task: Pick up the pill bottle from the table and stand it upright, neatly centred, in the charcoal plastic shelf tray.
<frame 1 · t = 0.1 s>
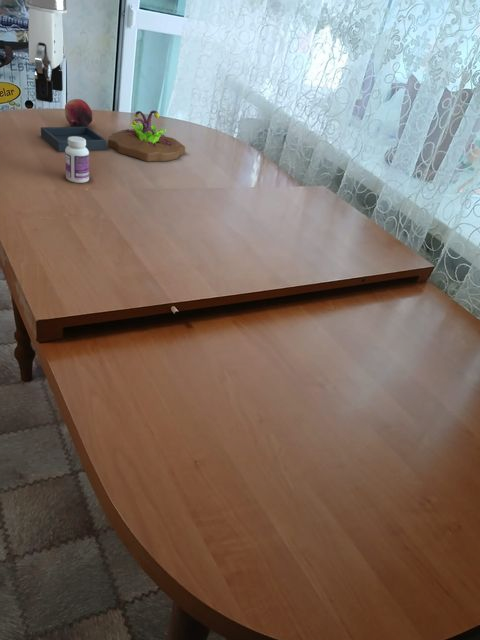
hand: (49, 95, 114), 20 cm above the table, tool pointing down, fingers open, 9 cm apart
fruit: (79, 129, 162), on the table
pill bottle: (77, 180, 132), on the table
shelf tray: (74, 143, 151), on the table
plant: (147, 150, 159), on the table
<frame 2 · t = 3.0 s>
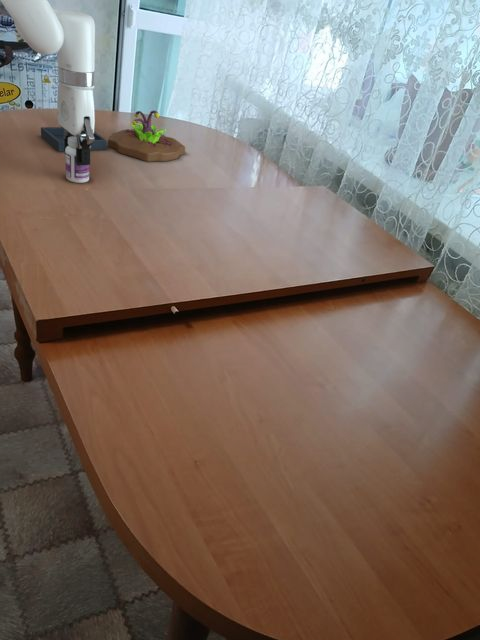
hand: (77, 159, 129), 5 cm above the table, tool pointing down, fingers closed on pill bottle, 5 cm apart
pill bottle: (77, 180, 132), on the table, touching gripper
everything else where it was.
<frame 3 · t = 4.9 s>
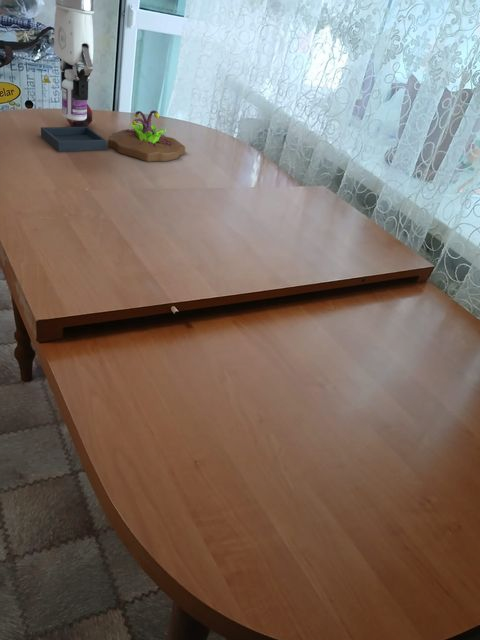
hand: (74, 94, 121), 19 cm above the table, tool pointing down, fingers closed on pill bottle, 5 cm apart
pill bottle: (74, 118, 124), point 14 cm above the table, touching gripper
everything else where it was.
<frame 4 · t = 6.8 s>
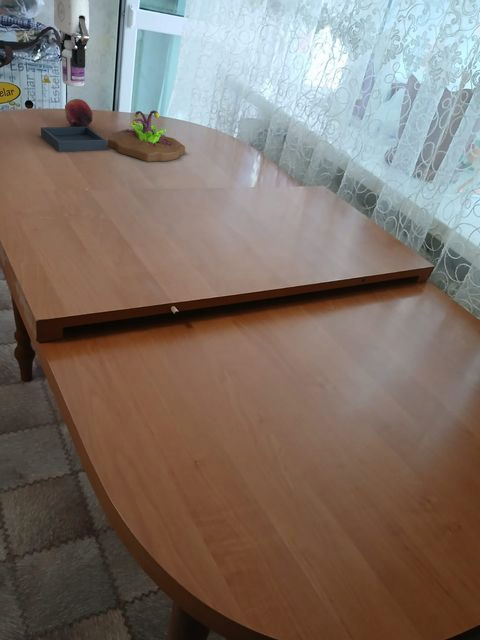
hand: (73, 63, 136), 21 cm above the table, tool pointing down, fingers closed on pill bottle, 5 cm apart
pill bottle: (73, 85, 139), point 16 cm above the table, touching gripper
everything else where it was.
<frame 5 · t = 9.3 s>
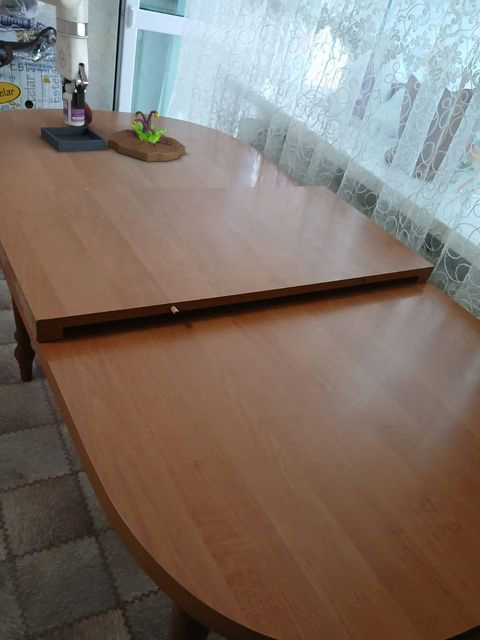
hand: (73, 104, 145), 10 cm above the table, tool pointing down, fingers closed on pill bottle, 5 cm apart
pill bottle: (73, 124, 148), point 5 cm above the table, touching gripper
everything else where it was.
when the fingers open (5 cm above the table, at t = 10.9 s): pill bottle stays where it is, resting on shelf tray.
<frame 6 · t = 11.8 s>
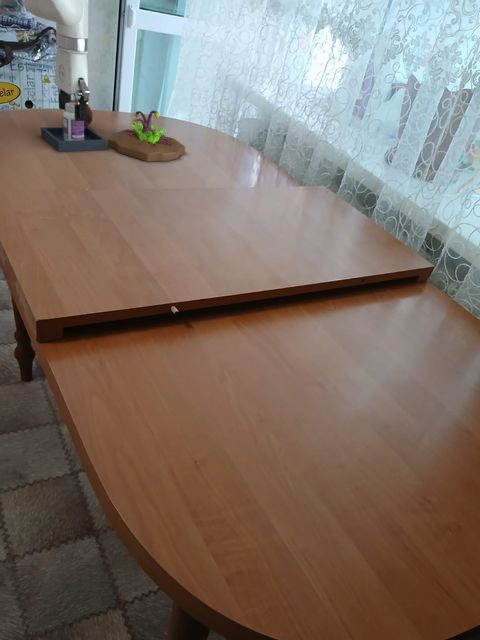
hand: (72, 114, 146), 8 cm above the table, tool pointing down, fingers open, 9 cm apart
pill bottle: (73, 141, 151), resting on shelf tray
everything else where it was.
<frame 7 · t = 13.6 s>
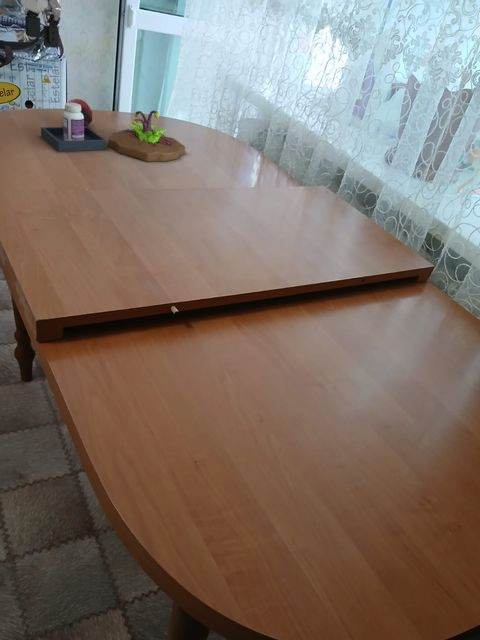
hand: (42, 41, 123), 27 cm above the table, tool pointing down, fingers open, 9 cm apart
nothing on the table moved.
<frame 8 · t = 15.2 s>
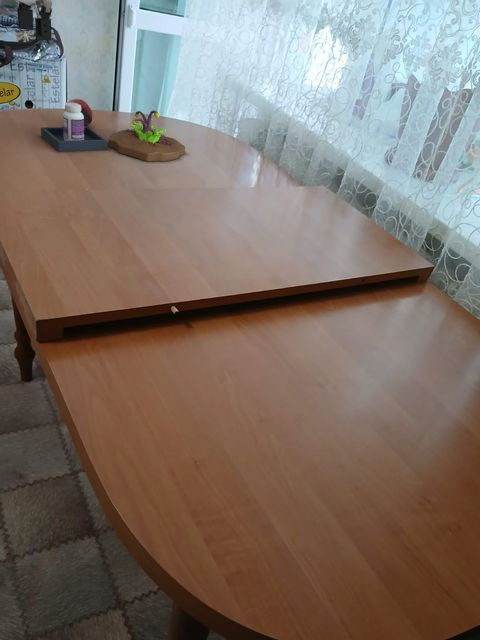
hand: (34, 34, 120), 28 cm above the table, tool pointing down, fingers open, 9 cm apart
nothing on the table moved.
at the end: pill bottle inside the target area in the shelf tray (0.0 cm from its centre), point 0.4 cm above the shelf tray's base; pill bottle tilted 0°; the gripper is holding nothing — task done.
